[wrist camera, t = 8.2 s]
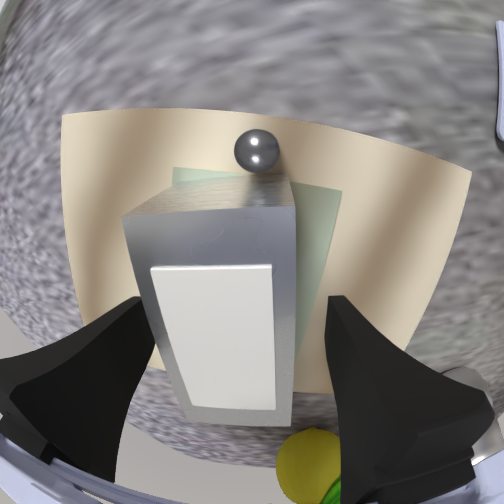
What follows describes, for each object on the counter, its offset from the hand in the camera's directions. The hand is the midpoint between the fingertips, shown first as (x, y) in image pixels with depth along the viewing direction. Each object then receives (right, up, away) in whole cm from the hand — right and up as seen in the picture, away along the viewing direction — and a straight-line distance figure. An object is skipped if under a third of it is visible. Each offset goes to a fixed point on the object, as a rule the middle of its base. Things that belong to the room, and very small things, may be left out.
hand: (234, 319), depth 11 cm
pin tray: (0, +2, +3) cm, 4 cm away
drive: (0, +2, +2) cm, 3 cm away
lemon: (+5, -12, +9) cm, 16 cm away
